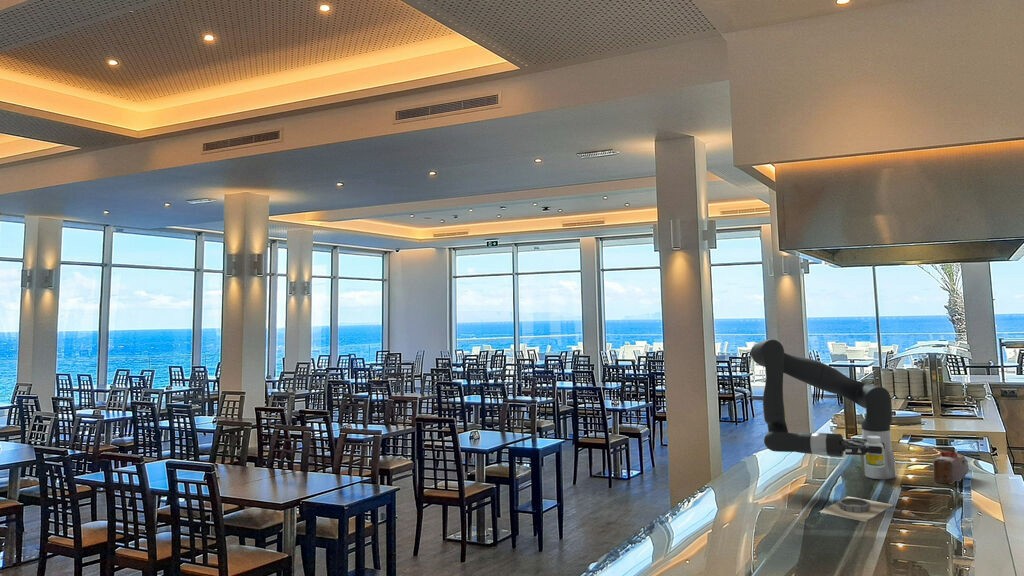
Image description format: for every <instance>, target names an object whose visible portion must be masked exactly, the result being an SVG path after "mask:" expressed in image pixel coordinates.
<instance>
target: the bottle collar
mask: <svg viewBox="0 0 1024 576" xmlns="http://www.w3.org/2000/svg"><path fill="white" fill-rule="evenodd" d="M844 498H845V499H844ZM844 498H840V499H839V500H838V501H837V502H838V503H839V508H840V509H841V510H844V511H847V512H854V513H863V512H868V511H869V510H870V503H869V502H868V501H865V500H866V499H865V500H862V499H863V498H860V499H856V498H857V497H854V498H846V497H844ZM851 505H860V506H851Z"/></svg>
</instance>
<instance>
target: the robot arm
mask: <svg viewBox="0 0 1024 576" xmlns="http://www.w3.org/2000/svg"><path fill="white" fill-rule="evenodd" d="M750 356H751V358H752V360H753V362H755V363H756V364H757V365H758V366H760V367H764V369H765V384H764V388H763V389H764V391H763V395H762V407H763V408H762V409H763V417H764V422H765V423H766V425H767V430H768V431H767V433H766V434H765V435H764V437H763V443H764V445H765V447H766V449H768V450H770V451H772V452H779V453H780V452H781V453H801V454H809V455H818V456H824V457H825V456H826V457H827V456H828V457H839V458H840V457H843V456H844V453H845V455H847V456H848V455H850V456H851V455H854V456H855V455H856V456H857V455H858V456H863V464H864V465H863V466H864V467H863V468H864V476H865V477H866V478H870V479H874V480H891V479H896V467H895V455H894V454H895V453H894V451H893V448H892V438H891V424H892V420H893V406H892V404H893V403H892V397H891V394H890V392H889V391H888V389H887V388H885V387H884V386H879V385H875V384H871V383H867V382H862V381H859V380H856V379H853V378H850V377H849V376H847V375H845V374H844V373H842V372H841V371H839V370H837V369H836V368H834V367H832V366H830V365H828V364H825V363H823V362H822V361H821V362H820V361H817V360H815V359H812V358H807V357H801V356H795V355H792V354H788V353H786V352H785V349H784V346H783V344H782V343H781V342H780V341H779V340H777V339H773V338H771V339H765V340H762V341H759V342H757V343H755V344H754V345H752V347H751V350H750ZM784 374H785V375H788V376H789V377H791V378H794V379H796V380H798V381H801V382H803V383H805V384H807V385H808V386H811V387H814V388H816V389H818V390H821V391H824V392H827V393H831V394H835V395H838V396H841V397H843V398H845V399H847V400H849V401H851V402H852V403H854V404H856V405H858V406H860V407H861V408H863V409H865V416H866V417H865V419H863V420H861V423H860V425H861V427H860V428H861V438H858V437H851V438H848V439H847V440H845V439H844V436H843V434H841V433H832V432H831V433H830V432H829V433H827V432H813V433H812V432H789V430H788V427H787V422H786V414H785V413H786V412H785V403H784ZM867 436H879V437H880V438H881V441H880V443H882V444H883V447H884V461H885V466H884V467H882V468H872V467H869V466H867V464H866V454H869V453H875V454H882V447H878V446H869V447H868V446H867V445H865V444H866V443H867V442H868V441H867Z"/></svg>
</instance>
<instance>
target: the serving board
mask: <svg viewBox="0 0 1024 576" xmlns="http://www.w3.org/2000/svg"><path fill="white" fill-rule="evenodd" d="M845 498H856V499H862V500H865V501H868V502H869V503H870V510H869V511H868V512H863V513H854V512H847V511H844V510H841V509H840V508H839V503H838V501H836V502H834V503H832V504H831V505H829V506H827V507H825V508H823V509H821V510H820V511H818V513H822V514H826V515H830V516H831V515H832V516H837V517H841V518H845V519H850V520H855V521H860V522H864V523H865V522H868V521H869V520H870V519H873V518H874V517H876V516H877V515H879V514H880V513H882V512H885V511H886V510H887V509H889V508H891V507H892V506H893V504H890V503H886V502H881V501H875V500H870V499H863V498H859V497H854V496H848V495H847V496H845V497H844V498H843V499H845ZM851 506H860V505H851Z"/></svg>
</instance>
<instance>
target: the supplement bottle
mask: <svg viewBox="0 0 1024 576" xmlns="http://www.w3.org/2000/svg"><path fill="white" fill-rule="evenodd" d="M867 441H868V442H867V443H866V444H865V445H867V446H868V447H869V446H878V447H882V454H875V453H869V454H866V464H867V466H869V467H872V468H882V467H884V466H885V461H884V447H883V444H882V443H880V441H881V438H880V437H879V436H867Z"/></svg>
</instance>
